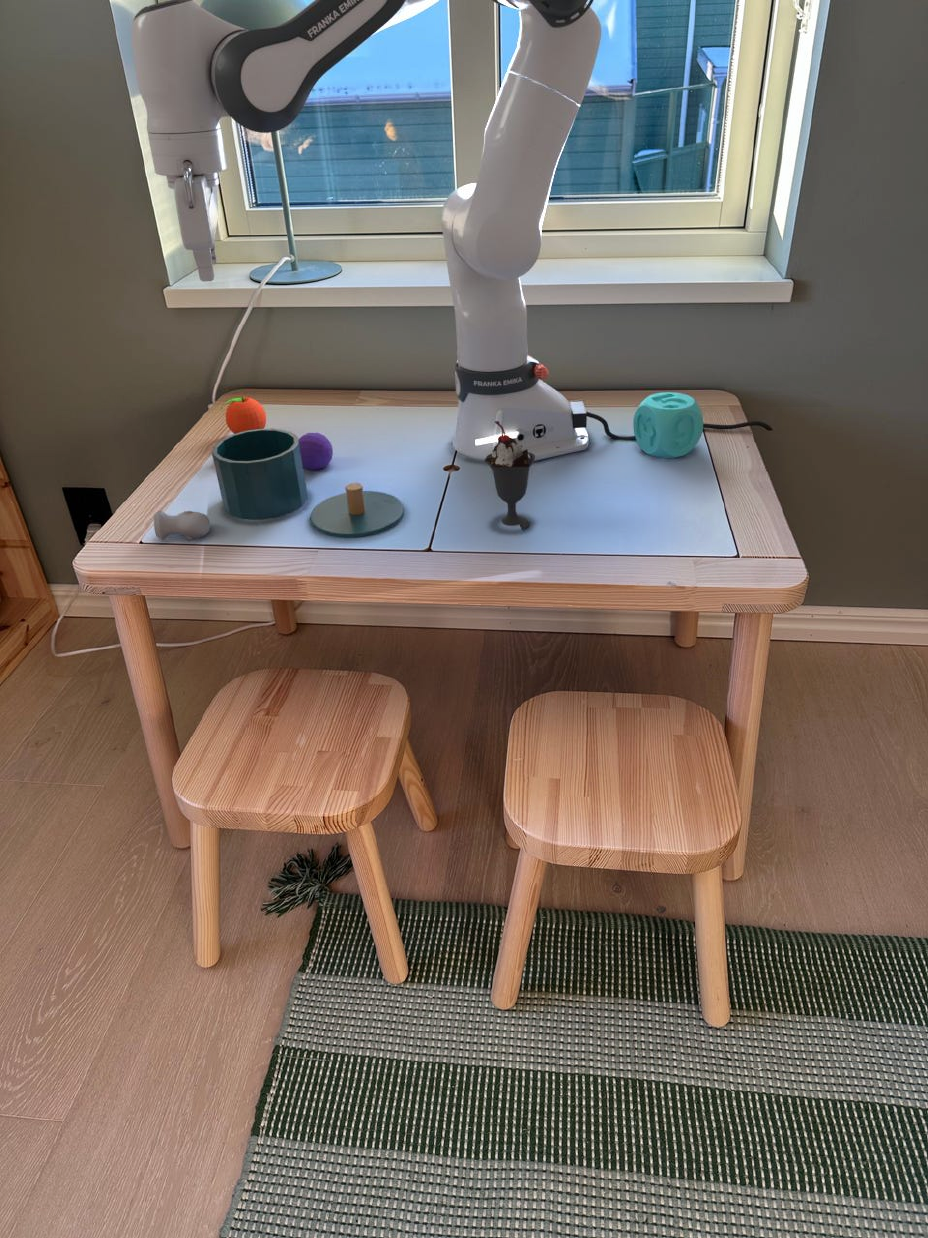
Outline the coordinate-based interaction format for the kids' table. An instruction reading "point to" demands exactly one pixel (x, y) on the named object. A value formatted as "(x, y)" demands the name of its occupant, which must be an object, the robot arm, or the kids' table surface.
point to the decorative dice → (668, 424)
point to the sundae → (510, 475)
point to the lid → (357, 513)
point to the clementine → (245, 415)
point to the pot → (260, 473)
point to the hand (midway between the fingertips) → (209, 271)
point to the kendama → (315, 451)
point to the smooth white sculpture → (181, 524)
